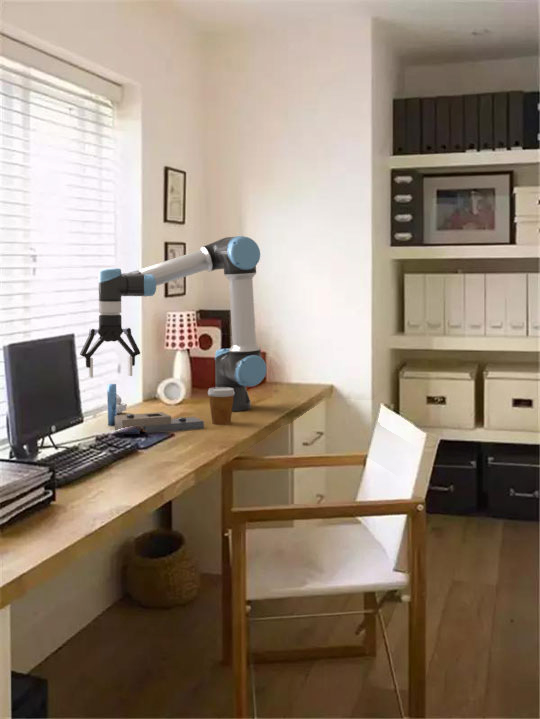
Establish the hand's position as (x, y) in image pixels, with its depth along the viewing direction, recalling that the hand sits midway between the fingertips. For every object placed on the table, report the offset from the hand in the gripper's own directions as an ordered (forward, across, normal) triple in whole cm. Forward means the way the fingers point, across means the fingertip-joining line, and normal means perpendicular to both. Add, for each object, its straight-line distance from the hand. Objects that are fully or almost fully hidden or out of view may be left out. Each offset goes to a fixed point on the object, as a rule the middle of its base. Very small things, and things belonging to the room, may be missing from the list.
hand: (110, 376), depth 297 cm
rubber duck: (+17, -8, -21) cm, 28 cm away
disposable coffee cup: (+17, -36, +13) cm, 41 cm away
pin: (+17, 0, 0) cm, 17 cm away
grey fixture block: (+17, -12, +15) cm, 26 cm away
